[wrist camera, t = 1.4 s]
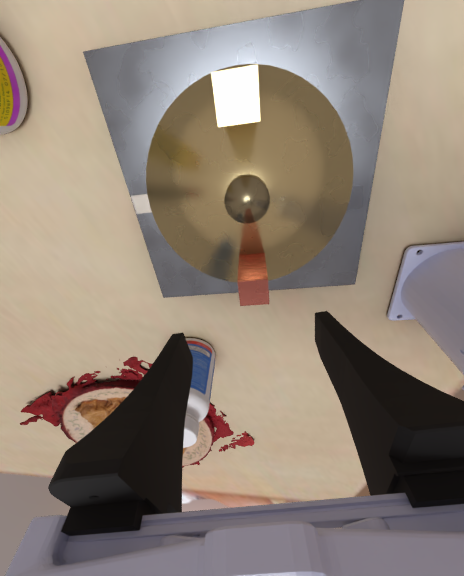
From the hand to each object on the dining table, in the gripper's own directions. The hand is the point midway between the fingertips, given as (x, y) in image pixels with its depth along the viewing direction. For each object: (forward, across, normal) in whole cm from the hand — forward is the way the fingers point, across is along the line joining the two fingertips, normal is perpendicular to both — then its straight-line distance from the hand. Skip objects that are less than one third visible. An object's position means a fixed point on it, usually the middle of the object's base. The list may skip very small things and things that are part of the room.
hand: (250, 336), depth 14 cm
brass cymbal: (+10, -1, -5) cm, 11 cm away
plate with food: (+12, +20, +27) cm, 35 cm away
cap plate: (+11, -1, -5) cm, 12 cm away
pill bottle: (+11, +8, +12) cm, 18 cm away
